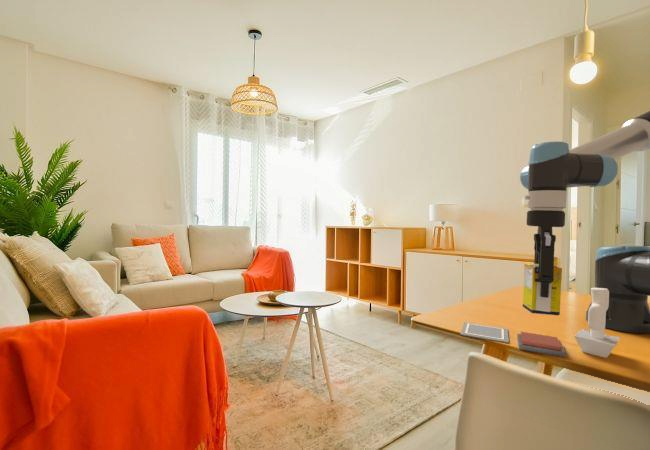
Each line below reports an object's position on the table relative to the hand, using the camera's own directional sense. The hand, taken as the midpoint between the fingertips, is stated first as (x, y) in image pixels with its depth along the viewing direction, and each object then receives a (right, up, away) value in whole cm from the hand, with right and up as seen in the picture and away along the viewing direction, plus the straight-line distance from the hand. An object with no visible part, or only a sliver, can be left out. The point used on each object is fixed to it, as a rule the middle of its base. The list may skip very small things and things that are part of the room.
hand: (541, 306), depth 80 cm
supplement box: (0, -1, 0) cm, 1 cm away
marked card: (-9, -9, +10) cm, 16 cm away
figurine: (+12, -10, -2) cm, 16 cm away
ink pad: (0, -10, 0) cm, 10 cm away
